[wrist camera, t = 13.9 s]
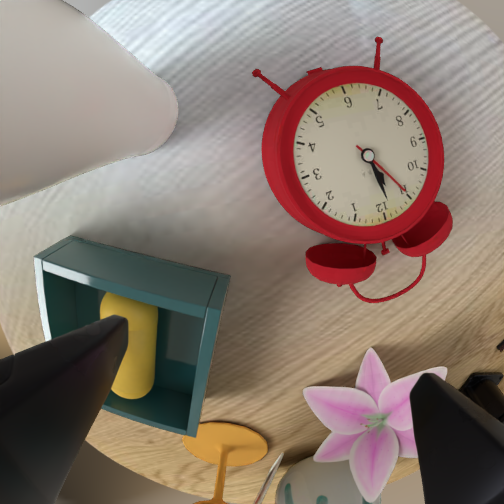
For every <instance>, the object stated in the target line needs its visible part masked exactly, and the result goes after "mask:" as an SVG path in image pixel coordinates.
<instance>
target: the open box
mask: <svg viewBox="0 0 504 504" xmlns="http://www.w3.org/2000/svg"><path fill="white" fill-rule="evenodd" d="M34 268H35V279H36V288H37V296H38V303H39V309H40V316H41V321H42V327H43V332H44V337H45V342H46V341H49V340H51V339H54V338H56V337H59V336H61V335H64V334H66V333H69V332H71V331H74V330H76V329H79V328H81V327H84V326H86V325H89V324H91V323H94V322H96V321H99V320H100V306H101V302H102V299H103V297H104V295H105V294H106V292H109V293H113V294H116V295H119V296H123V297H126V298H129V299H133V300H136V301H140V302H143V303H147V304H150V305H154V306H157V307H158V324H157V339H156V357H155V379H154V384H153V386H152V388H151V390H150V391H149V392H148V393H147V394H146V395H145V396H143V397H141V398H138V399H127V398H123V397H121V396H119V395H117V394H116V393H115V392H113V391H112V389H111V390H110V392H109V394H108V396H107V398H106V400H105V402H104V404H103V406H102V407H101V409H103V410H106V411H109V412H111V413H114V414H117V415H119V416H122V417H125V418H128V419H131V420H134V421H137V422H140V423H143V424H146V425H149V426H153V427H156V428H159V429H163V430H166V431H170V432H174V433H178V434H181V435H185V436H186V435H187V436H190V437H194V438H196V436H197V432H198V428H199V423H200V419H201V414H202V410H203V406H204V401H205V396H206V392H207V387H208V382H209V377H210V372H211V367H212V362H213V357H214V353H215V348H216V343H217V338H218V333H219V329H220V324H221V319H222V315H223V310H224V305H225V301H226V296H227V291H228V287H229V282H230V278H231V276H230V275H226V274H222V273H218V272H213V271H209V270H205V269H201V268H196V267H192V266H188V265H184V264H180V263H176V262H172V261H167V260H163V259H159V258H155V257H151V256H147V255H143V254H139V253H135V252H131V251H128V250H124V249H120V248H116V247H112V246H108V245H104V244H101V243H97V242H93V241H89V240H86V239H82V238H78V237H74V236H71V235H70V236H68V237H67V238H64V239H63V240H61V241H59V242H57V243H56V244H54V245H52V246H50V247H49V248H47V249H45V250H44V251H42V252H40V253H38V254H37V255H35V256H34Z"/></svg>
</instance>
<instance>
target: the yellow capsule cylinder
mask: <svg viewBox="0 0 504 504" xmlns="http://www.w3.org/2000/svg"><path fill="white" fill-rule="evenodd" d="M111 315H119V316H122V317H125V318H127V320H128V337H129V342H128V347H127V350H126V353H125V355H124V358H123V360H122V363H121V365H120V367H119V370H118V372H117V375H116V377H115V380H114V383H113V385H112V388H111V389H112V391H113V392H115V393H116V394H117V395H119V396H121V397H123V398H127V399H138V398H141V397H143V396H145V395H146V394H147V393H148V392H149V391H150V390H151V388H152V386H153V384H154V379H155V357H156V339H157V324H158V307H157V306H154V305H150V304H147V303H143V302H140V301H136V300H133V299H129V298H126V297H123V296H119V295H116V294H113V293H109V292H106V294H105V295H104V297H103V299H102V302H101V306H100V320H101V319H104V318H106V317H109V316H111Z"/></svg>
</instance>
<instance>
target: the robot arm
mask: <svg viewBox="0 0 504 504" xmlns="http://www.w3.org/2000/svg"><path fill="white" fill-rule="evenodd" d="M128 342H129V337H128V320H127V318H125V317H122V316H119V315H111V316H109V317H106V318H104V319H101V320H99V321H96V322H94V323H91V324H89V325H86V326H84V327H81V328H79V329H76V330H74V331H71V332H69V333H66V334H64V335H61V336H59V337H56V338H54V339H51V340H49V341H46V342H44V343H41V344H38V345H36V346H33V347H31V348H28V349H26V350H23V351H21V352H18V353H16V354H15V356H14V355H11V356H8V357H5V358H3V359H0V504H54V503H55V501H56V499H57V496H58V494H59V492H60V490H61V488H62V486H63V483H64V481H65V479H66V477H67V474H68V472H69V471H70V469H71V466H72V464H73V462H74V460H75V458H76V456H77V454H78V452H79V450H80V448H81V446H82V444H83V442H84V440H85V438H86V436H87V434H88V432H89V430H90V428H91V426H92V425H93V423H94V421H95V419H96V417H97V415H98V413H99V411H100V409H101V407H102V406H103V404H104V402H105V400H106V398H107V396H108V394H109V392H110V390H111V388H112V385H113V383H114V380H115V377H116V375H117V372H118V370H119V367H120V365H121V363H122V360H123V358H124V355H125V353H126V350H127V347H128ZM502 378H503V374H502V373H473V374H472V375H471V376H470V377H469V378H468V380H467V381H466V383H465V384H464V385H463V387H462V388H461V390H460V391H458V390H457V389H455V388H454V387H453V386H451V385H450V384H449V383H447V382H446V381H445V380H443V379H442V378H440V377H439V376H438V375H436V374H435V373H423V374H422V375H421V376H420V377H419V379H418V380H417V382H416V383H415V385H414V386H413V388H412V389H411V391H410V395H409V399H410V406H411V414H412V422H413V431H414V438H415V444H416V449H417V454H418V460H419V465H420V471H421V477H422V484H423V491H424V499H425V504H504V395H503V393H502V392H501V390H500V389H499V388H498V386H497V385H498V384H499V382H500V381H501V379H502Z"/></svg>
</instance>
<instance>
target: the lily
mask: <svg viewBox="0 0 504 504" xmlns="http://www.w3.org/2000/svg"><path fill="white" fill-rule="evenodd" d="M423 373H435V374H436V375H438V376H439V377H440V378H442V379H443V380H445V378H446V375H447V368H446V367H443V366H440V367H435V368H431V369H428V370H424V371H421V372H418V373H415V374H412V375H409V376H406V377H403V378H400V379H398V380H396V381H394V382H391V381H390V379H389V376H388V374H387V372H386V370H385V368H384V366H383V364H382V362H381V360H380V358H379V357H378V355H377V353H376V352H375V351H374V349H372V348H369V349H368V350H367V352H366V354H365V356H364V358H363V361H362V364H361V367H360V370H359V373H358V376H357V380H356V385H355V389H354V388H347V387H329V386H312V387H306V388H305V389H303V395H304V398H305V400H306V402H307V403H308V405H309V406H310V408H311V409H312V411H313V412H314V413H315V415H316V416H317V417H318V419H319V420H320V421H321V422H322V423H323V424H324V425H325V426H326V427H327V428H328V429H330V430H331V431H332V432H331V433H330V434H329V436H328V437H327V438H326V439H325V440H324V442H323V443H322V444H321V446H320V447H319V449H318V450H317V452H316V453H315V455H314V457H313V460H314V461H315V462H321V463H324V462H338V461H344V460H348V459H349V464H350V469H351V472H352V475H353V478H354V480H355V483H356V485H357V487H358V489H359V491H360V493H361V495H362V496H363V497H364V499H365V500H366V501H367V502H369V503H372V502H374V501H375V500H376V499H377V498H378V496H379V495H380V493H381V492H382V490H383V488H384V487H385V485H386V483H387V481H388V479H389V477H390V475H391V473H392V471H393V469H394V467H395V464H396V462H397V459H398V456H399V457H406V458H418V454H417V449H416V444H415V438H414V431H413V422H412V414H411V406H410V399H409V395H410V391H411V389H412V388H413V386H414V385H415V383H416V382H417V380H418V379H419V377H420V376H421V375H422V374H423Z"/></svg>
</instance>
